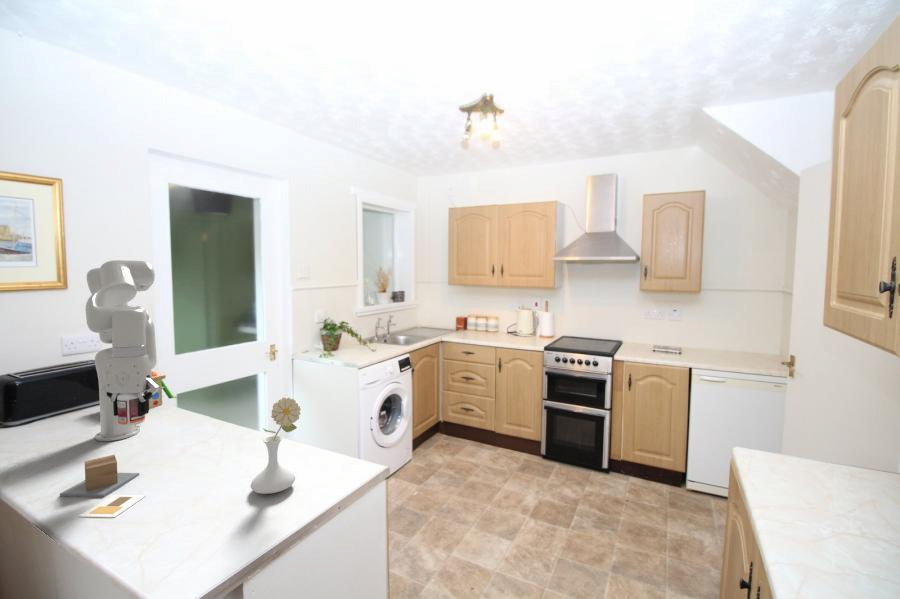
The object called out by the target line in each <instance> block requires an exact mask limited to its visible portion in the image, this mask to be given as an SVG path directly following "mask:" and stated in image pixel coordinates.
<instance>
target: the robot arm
mask: <svg viewBox="0 0 900 599" xmlns="http://www.w3.org/2000/svg"><path fill="white" fill-rule="evenodd" d="M155 276H156V274H155V270H154V267H153V266H152V264H151V263H149V262H148V261H144V260H122V259H121V260H119V259H117V260H109V261H108V260H107V261H105V262H104V263H103V264H101V266H100V267H97V268H92V269H90V270H88V272H87V273H86V281H87V282H86V283H87V286H88V289H89V291H90V294H91V295H90V296H88V299H87V300H86V304H85V320H86V325H87V328H88V330H90V332H92V333H98V336H99V340H100V341H101V342H102V343H104V344H109V345H110V344H111V346H112V347H108V348H104V349H102V350H100V351H97V353H96V354H95V356H94V364H95V370H96V373H97V378H98V392H99V393H98V396H99V416H100V417H99V420H100V421H99V424H100V431H99V432H98V433H96V434H95V436H94V439H95V441H98V442H112V441H113V442H114V441H119V440H123V439H126V438H127V439H128V438H131V437H133V436H136V435H137V434H139V433H140V432H141V428H140V426H137V425H132V426H120V425H119V424H118V407H117V396H118V395H119V394H137V395H138V397H139V399H140V402H139V403H138V415H139V416H143V415H145V416H146V415H147V414H149V412H150V409H149V400H150V399H151V397H152V396H153V395H154V394H155V393H156V392H157V391H158V390H159V389H160V388H159V386H158V385H157V384H156V383H155V382H154V381H152V371H153V369H154V368H155V367H156V365H157V348H156V347H157V345H156V331H155V324H154V321H153V319H152V318H150V314H149V311H148V310H147V309H146V308H145V307H143V306H141V305H129V304H128V303H129V302H131V301H133V299H135V297H136V295H137V292H145V291H146V292H147V291H148V290H149V289H150V288H151V287H152V286H153V284H154V283H155V279H156V277H155ZM148 389H151V390H150V391H148ZM143 393H144V395H143Z"/></svg>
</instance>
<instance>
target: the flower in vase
mask: <svg viewBox="0 0 900 599" xmlns="http://www.w3.org/2000/svg"><path fill="white" fill-rule="evenodd" d="M272 405H273V406H272V410H271V416H270V417H271V418H272V419H273V422H275V424H276V425H280V427H279V428H278V430H277V432H276V431H274V430H268V429H265V428H262V429H263V430H264V432H267V433H272V434H275V435H269V436H267V437H264V438H263V439H262V442H263V443H264V444H265V445H266V448H267V453H268V462H267V466H266V467H265V468H263V470H261V471H260V472H259V473H257V475H256V476H255V477H254V478H253V479H252V480H251V483H250V489H251V490H252V491H253V492H254V493H257V494H260V495H261V494H262V495H267V494H269V495H270V494H276V493H279V492H283V491H285V490H287V489H288V488H290V487H291V486H292V485H293V484H294V482H295V480H296V475H295V474H294V473H293V471H291V470H289V469H288V468H287V467H284V466H282V465H281V464H279V462H278V451H279V450H278V449H279V446H280V443H281V441H282V440H283V436H281V435H278V434H279V432H280V430H281V429H282V431H284V432H285V433H290V432H293V431H295V430H296V429H298V427H297V426H296V425H295V424H294V423H296V422H297V421H298V420H299V419H300V415H301V410H302V409H301V406H300V405H299V403H298V402H297V401H296V399H294V398H290V397H282V398H280V399H278V401H276V402H275V403H273V404H272Z"/></svg>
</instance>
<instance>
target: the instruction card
mask: <svg viewBox="0 0 900 599" xmlns="http://www.w3.org/2000/svg"><path fill="white" fill-rule="evenodd" d="M146 496H147V495H145V494H143V495H142V494H141V495H140V494H139V495H137V494H136V495H135V494H134V495H133V494H130V495H129V494H112V495H110V496H109V497H107V498H106V499H104V500H102V501H101V502H99V503H97V504H95V505H93V507H90V509H88V510H86V511H84V512H83V513H81V514H79V515H78V516H77V517H78V518H106V519H107V518H114V519H115V518H116V517H118V516H119V515H121V514H122V513H124V512H125V511H127V510H128V509H130V508H131V507H133V506H134V505H135V504H137V503H138V502H140V501H141V500H142V499H145V497H146Z"/></svg>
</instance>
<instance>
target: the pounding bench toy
mask: <svg viewBox="0 0 900 599" xmlns="http://www.w3.org/2000/svg"><path fill="white" fill-rule="evenodd" d="M151 371H152V381H154V382H155V383H156V384H157V385H158V386H159V388H160V389H159V390H158V391H157V392H156V393H155V394H154V395H153V396H152V397H151V399H150V400H149V410H151V409H154V408H157V407H161V406H163V392H164V393H165V395H166V396H167V398H168V399H178V398H179V396H176V395H174V394H172V392H171V391H170V389H169V388H168V386H167V385H166V383H165V382H164V381H163V380H165V379H167V378H166V374H162V373H159V372H156V371H154V370H151ZM150 390H151V389H148V391H150Z"/></svg>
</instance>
